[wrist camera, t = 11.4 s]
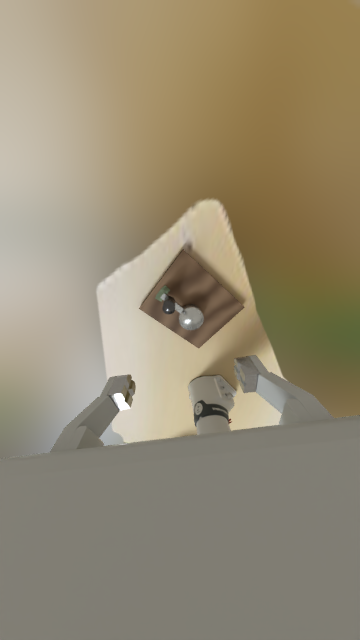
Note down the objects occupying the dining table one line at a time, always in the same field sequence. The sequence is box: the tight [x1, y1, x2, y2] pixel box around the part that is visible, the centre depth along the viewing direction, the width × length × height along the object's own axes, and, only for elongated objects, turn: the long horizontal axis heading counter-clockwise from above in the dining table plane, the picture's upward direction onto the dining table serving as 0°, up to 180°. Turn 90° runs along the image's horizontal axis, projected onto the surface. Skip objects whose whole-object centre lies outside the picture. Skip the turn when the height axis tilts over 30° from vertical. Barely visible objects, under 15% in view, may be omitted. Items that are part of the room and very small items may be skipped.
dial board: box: [139, 250, 244, 348], centre depth 41 cm, size 24×20×2 cm
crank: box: [160, 292, 204, 330], centre depth 37 cm, size 14×7×7 cm, turn 49°
